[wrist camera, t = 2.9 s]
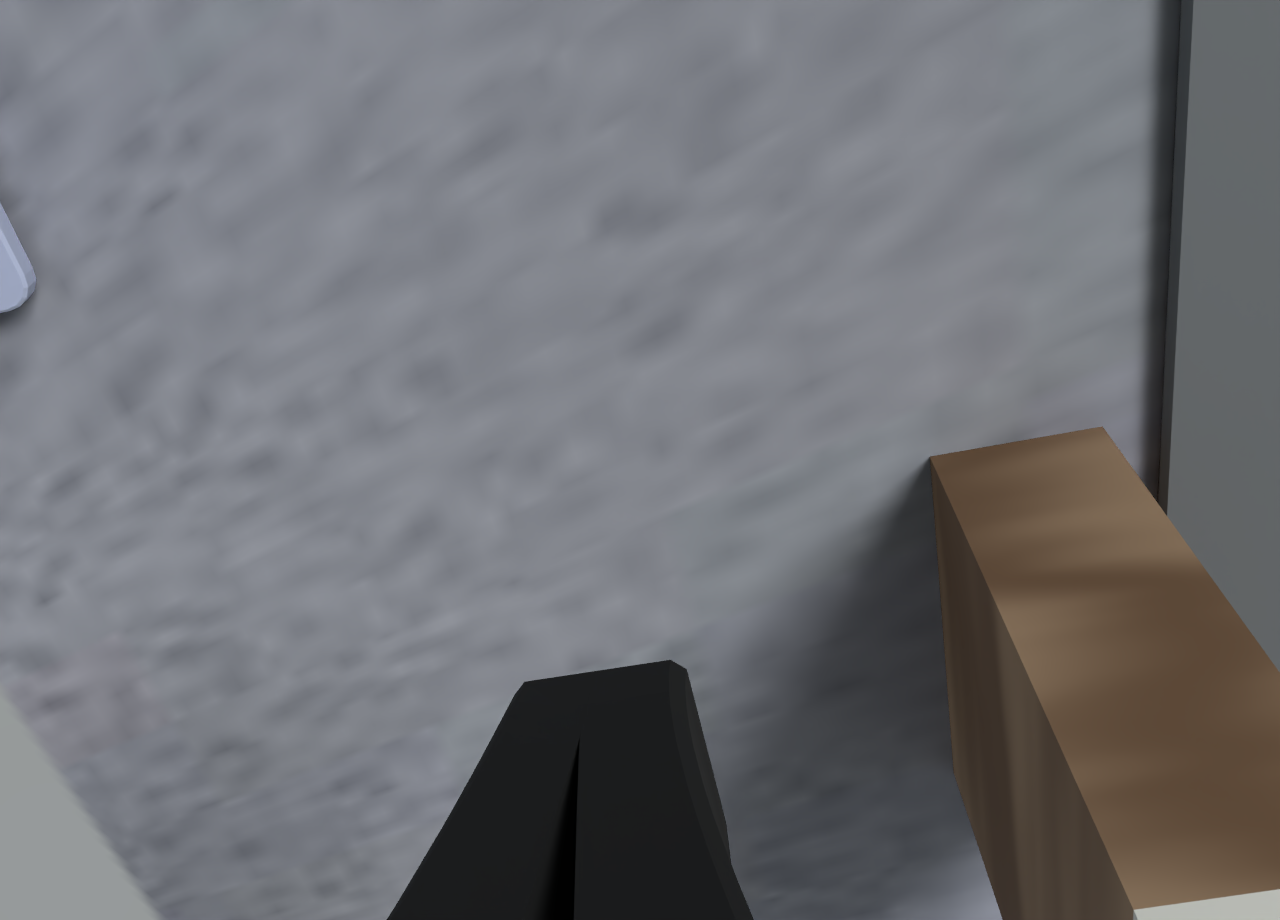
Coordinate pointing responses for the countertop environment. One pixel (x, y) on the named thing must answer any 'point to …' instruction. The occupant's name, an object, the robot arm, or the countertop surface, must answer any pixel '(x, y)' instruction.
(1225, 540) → the mat
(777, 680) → the countertop surface
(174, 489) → the countertop surface
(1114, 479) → the wooden block
